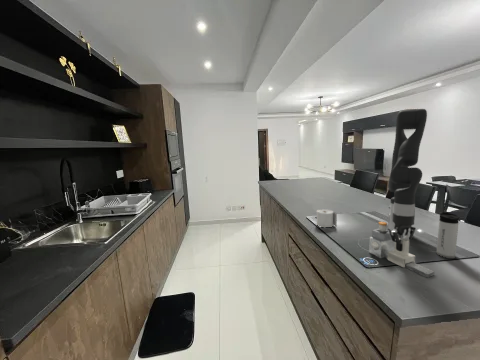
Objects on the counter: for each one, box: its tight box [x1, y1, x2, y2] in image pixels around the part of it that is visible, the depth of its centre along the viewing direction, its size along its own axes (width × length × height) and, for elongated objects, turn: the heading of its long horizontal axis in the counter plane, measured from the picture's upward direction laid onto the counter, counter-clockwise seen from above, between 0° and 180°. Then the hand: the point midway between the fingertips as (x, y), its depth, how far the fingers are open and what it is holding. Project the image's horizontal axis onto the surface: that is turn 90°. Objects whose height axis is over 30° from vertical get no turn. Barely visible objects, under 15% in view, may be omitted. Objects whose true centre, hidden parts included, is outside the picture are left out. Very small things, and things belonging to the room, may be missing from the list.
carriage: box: [387, 238, 416, 269], centre depth 92 cm, size 7×7×11 cm
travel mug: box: [436, 211, 460, 259], centre depth 96 cm, size 6×7×20 cm
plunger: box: [378, 221, 388, 233], centre depth 100 cm, size 3×3×5 cm
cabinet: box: [368, 228, 395, 259], centre depth 101 cm, size 6×9×12 cm, turn 109°
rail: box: [383, 253, 436, 278], centre depth 91 cm, size 18×4×2 cm, turn 19°
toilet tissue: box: [316, 208, 338, 228], centre depth 140 cm, size 11×12×10 cm
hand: (401, 249), depth 92 cm, fingers closed on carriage, 2 cm apart
